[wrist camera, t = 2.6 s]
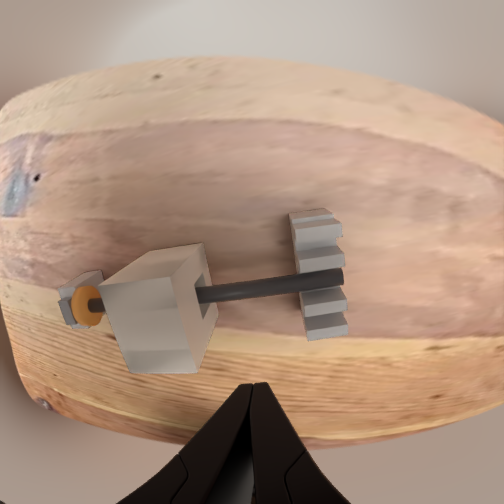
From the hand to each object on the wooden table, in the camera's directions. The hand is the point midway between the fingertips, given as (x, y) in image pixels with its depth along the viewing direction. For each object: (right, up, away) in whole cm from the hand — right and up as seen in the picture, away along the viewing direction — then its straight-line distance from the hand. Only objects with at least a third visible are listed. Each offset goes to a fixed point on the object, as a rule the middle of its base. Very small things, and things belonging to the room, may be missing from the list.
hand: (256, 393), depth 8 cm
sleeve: (-5, +2, +12) cm, 13 cm away
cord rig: (-4, +2, +12) cm, 13 cm away
